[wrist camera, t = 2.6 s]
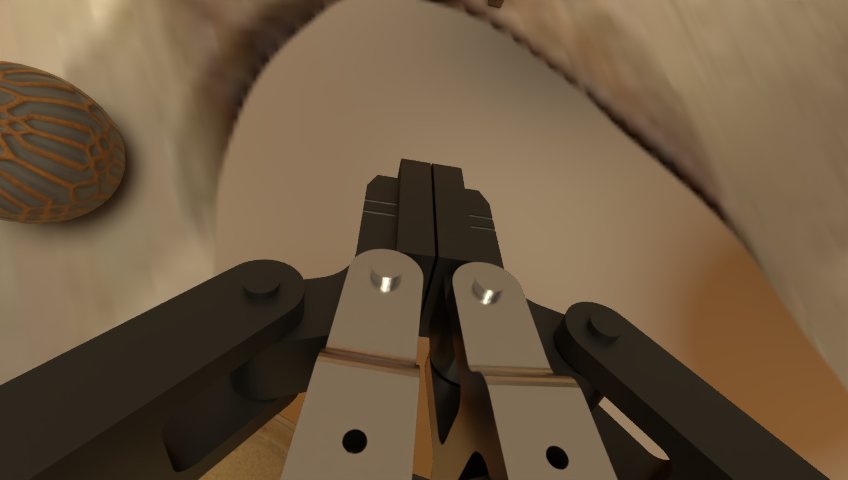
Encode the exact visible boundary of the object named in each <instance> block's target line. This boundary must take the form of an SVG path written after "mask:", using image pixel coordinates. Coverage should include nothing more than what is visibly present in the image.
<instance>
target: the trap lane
mask: <svg viewBox="0 0 848 480" xmlns="http://www.w3.org/2000/svg"><path fill="white" fill-rule="evenodd" d="M503 1H504V0H489V2H488V5H490V6H494V7H499V8H500V7H501V5H502V3H503Z"/></svg>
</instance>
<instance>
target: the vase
mask: <svg viewBox="0 0 848 480" xmlns="http://www.w3.org/2000/svg"><path fill="white" fill-rule="evenodd" d="M124 170H125V150H124V145H123V141H122V138H121V136H120V134H119V132H118V130H117V128H116V126H115V124H114V123H113V121H112V120H111V118H110V117H109V116H108V114H107V113H106V112H105V111H104V110H103V109H102V107H101V106H99V105H98V104H97V103H96V102H95V101H94V100H93V99H92V98H90V97H89V96H88V95H87V94H85V93H84V92H83V91H81V90H80V89H78V88H77V87H75V86H74V85H72V84H70V83H69V82H67V81H65V80H63V79H61V78H59V77H57V76H55V75H53V74H50V73H48V72H45V71H42V70H39V69H36V68H33V67H29V66H26V65H22V64H17V63H11V62H6V61H0V220H5V221H12V222H19V223H35V224H42V223H53V222H60V221H65V220H69V219H73V218H76V217H79V216H82V215H84V214H87V213H89V212H91V211H92V210H94V209H96V208H98V207H99V206H101V205H102V204H103V203H104V202H106V201H107V200H108V199H109V198H110V197H111V196H112V195H113V193H114V192H115V191H116V189H117V188H118V186H119V184H120V182H121V180H122V177H123V174H124Z"/></svg>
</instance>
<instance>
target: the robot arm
mask: <svg viewBox="0 0 848 480" xmlns="http://www.w3.org/2000/svg"><path fill="white" fill-rule="evenodd" d="M494 230H495V227H494V223H493V220H492V214H491V209H490V205H489V203H488V202H487V201H486V199H485V198H484V197H483V196H482V195H481V193H480V192H479V191H477V190H471V189H465V188H464V181H463V176H462V169H461V168H457V167H451V166H444V165H439V164H432V165H431V164H430V163H426V162H420V161H414V160H407V159H401V162H400V167H399V173H398V178H393V177H387V176H381V175H377V176H376V177H375V178H374V179H373V180H372V181H371V182H370V183H369V184H368V185H367V190H366V196H365V202H364V208H363V214H362V220H361V226H360V233H359V239H358V245H357V251H356V255H355V258H354V259H353V261H352V262H351V264H350V265H349V266H348V267H347V268H345V269H344V270H342V271H341V272H339V273H336V274H334V275H331V276H327V277H321V278H314V279H305V280H303V277H302V276H301V274H300V273H299V272H298V271H297V270H296V269H295V268H293V267H292V266H290V265H288V264H286V263H283V262H279V261H275V260H254V261H249V262H245V263H242V264H240V265H238V266H235V267H234V268H231V269H229V270H227V271H225V272H223V273H221V274H219V275H218V276H215V277H213V278H211V279H209V280H207V281H205V282H203V283H201V284H200V285H198V286H196V287H194V288H192V289H190V290H188V291H186V292H184V293H182V294H180V295H178V296H176V297H174V298H172V299H170V300H168V301H166V302H164V303H162V304H160V305H158V306H156V307H154V308H152V309H150V310H148V311H146V312H144V313H142V314H140V315H138V316H136V317H134V318H132V319H130V320H128V321H126V322H124V323H123V324H121V325H119V326H117V327H115V328H113V329H111V330H109V331H107V332H105V333H103V334H101V335H99V336H97V337H95V338H93V339H91V340H89V341H87V342H85V343H83V344H81V345H79V346H77V347H75V348H73V349H71V350H69V351H67V352H65V353H63V354H61V355H59V356H57V357H55V358H53V359H51V360H49V361H47V362H46V363H44V364H42V365H40V366H38V367H36V368H34V369H32V370H30V371H28V372H26V373H24V374H22V375H20V376H18V377H16V378H14V379H12V380H10V381H8V382H6V383H4V384H2V385H0V480H199V479H200V478H201V477H202V476H203V475H205V474H206V473H207V472H208V471H209V470H211V469H212V468H213V467H214V466H215V465H217V464H218V463H219V462H220V461H222V460H223V459H224V458H225V457H226V456H228V455H229V454H230V453H231V452H232V451H234V450H235V449H236V448H237V447H238V446H240V445H241V444H242V443H243V442H245V441H246V440H247V439H248V438H249V437H251V436H252V435H253V434H254V433H255V432H257V431H258V430H259V429H260V428H261V427H263V426H264V425H265V424H266V423H267V422H269V421H270V420H271V419H272V418H274V417H275V416H276V415H277V414H278V413H279V412H281V411H282V410H283V409H284V408H285V407H287V406H288V405H289V404H290V403H291V402H292V401H293V400H294V399H295V398H296V397H297V395H298V393H302V392H307V393H306V396H305V400H304V402H303V406H302V409H301V412H300V416H299V419H298V423H297V425H296V429H295V432H294V435H293V439H292V442H291V445H290V449H289V452H288V455H287V458H286V462H285V465H284V468H283V472H282V475H281V478H280V480H429V479H426V478H424V477H421V476H418V475H415V474H412V471H413V459H414V446H415V433H416V421H417V408H418V395H419V381H420V367H419V365H416V356H417V345H418V336H420V337H429V340H430V350H429V353H428V356H427V360H426V364H425V377H426V386H427V395H428V406H429V416H430V425H431V435H432V445H433V466H432V473H431V480H830V479H829V478H827V477H826V476H825V475H824V474H822V473H821V472H820V471H818V470H817V469H816V468H814V467H813V466H812V465H811V464H809V463H808V462H807V461H806V460H804V459H803V458H802V457H801V456H799V455H798V454H797V453H795V452H794V451H793V450H792V449H790V448H789V447H788V446H787V445H785V444H784V443H783V442H782V441H780V440H779V439H778V438H776V437H775V436H774V435H773V434H771V433H770V432H769V431H767V430H766V429H765V428H764V427H762V426H761V425H760V424H759V423H757V422H756V421H755V420H753V419H752V418H751V417H750V416H748V415H747V414H746V413H745V412H743V411H742V410H741V409H739V408H738V407H737V406H736V405H734V404H733V403H732V402H731V401H729V400H728V399H726V397H724V396H723V395H722V394H720V393H719V392H718V391H716V390H715V389H714V388H713V387H711V386H710V385H709V384H708V383H706V382H705V381H704V380H703V379H701V378H700V377H699V376H698V375H696V374H695V373H694V372H692V371H691V370H690V369H689V368H687V367H686V366H685V365H684V364H682V363H681V362H680V361H678V360H677V359H676V358H675V357H673V356H672V355H671V354H670V353H668V352H667V351H666V350H664V349H663V348H662V347H661V346H659V345H658V344H657V343H656V342H654V341H653V340H652V339H650V338H649V337H648V336H646V335H645V334H644V333H643V332H642V331H640V330H639V329H638V328H636V327H635V326H634V325H633V324H631V323H630V322H629V321H627V320H626V319H625V318H623V317H622V316H621V315H620V314H618V313H617V312H615V311H613V310H612V309H610V308H608V307H606V306H603V305H600V304H597V303H593V302H580V303H576V304H574V305H572V306H571V307H569V309H568V310H567V312H566V314H565V315H564V314H561V313H559V312H556V311H554V310H551V309H548V308H546V307H543V306H540V305H538V304H536V303H533V302H532V301H530V300H528V299H526V298H525V295H524V293H523V290H522V288H521V286H520V284H519V282H518V281H517V280H516V279H515V278H514V277H513V276H512V275H511V274H510V273H509V272H507V271H506V270H504V267H503V263H502V258H501V254H500V249H499V245H498V241H497V237H496V232H495V231H494ZM604 396H605V397H606V398H607V399H608V400H609V401H611V402H612V403H613V404H614V405H615V406H616V407H617V408H618V409H619V410H620V411H621V412H622V413H624V414H625V415H626V416H627V417H628V418H629V419H630V420H631V421H632V422H633V423H634V424H635V425H636V426H638V427H639V428H640V429H641V430H642V431H643V432H644V433H645V434H646V435H647V436H648V437H650V438H651V439H652V440H653V441H654V442H655V443H656V444H657V445H658V446H659V447H660V448H661V449H663V451H664V452H665V453H666V454H667V456H668V457H669V459H670V460H663V459H660V458H657V457H655V456H653V455H652V454H651V453H649V452H648V451H647V450H646V449H645V448H644V447H643V446H642V445H641V444H640V443H639V442H638V441H636V440H635V439H634V438H633V437H632V436H631V435H630V434H629V433H628V432H627V431H626V430H625V429H624V428H623V427H622V426H620V425H619V424H618V423H617V422H616V421H615V420H614V419H613V418H612V417H611V416H610V415H609V414H608V413H607V412H606V411H605V410H603V408H601V407H600V406H599V405H598V404H599V403H600V401H601V400H602V399H603V398H604Z"/></svg>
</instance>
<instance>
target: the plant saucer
mask: <svg viewBox="0 0 848 480" xmlns="http://www.w3.org/2000/svg"><path fill="white" fill-rule="evenodd" d="M295 429H296V424H294V423H293V422H291V421H290V420H288V419H286V418H284V417H283V416H281V415H279V414H277V415H276V416H275V417H274V418H272V419H271V420H270V421H269V422H267V423H266V424H265V425H264V426H263V427H261V428H260V429H259V430H258V431H257V432H255V433H254V434H253V435H252V436H251V437H249V438H248V439H247V440H246V441H245V442H243V443H242V444H241V445H240V446H238V447H237V448H236V449H235V450H234V451H232V452H231V453H230V454H229V455H228V456H226V457H225V458H224V459H223V460H222V461H220V462H219V463H218V464H217V465H215V466H214V467H213V468H212V469H211V470H209V471H208V472H207V473H206V474H205V475H203V476H202V477H201V478H200V479H199V480H280V478H281V475H282V472H283V468H284V465H285V462H286V458H287V455H288V452H289V449H290V445H291V442H292V439H293V435H294V432H295Z"/></svg>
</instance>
